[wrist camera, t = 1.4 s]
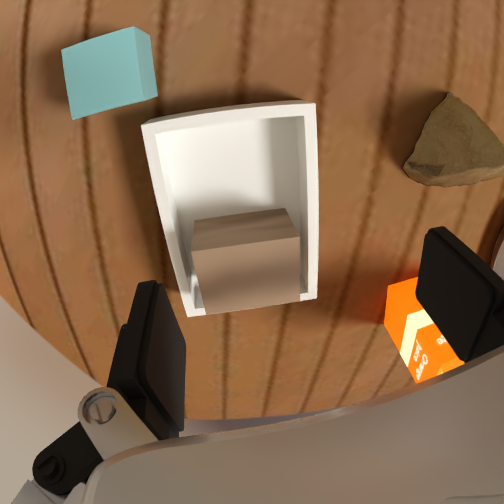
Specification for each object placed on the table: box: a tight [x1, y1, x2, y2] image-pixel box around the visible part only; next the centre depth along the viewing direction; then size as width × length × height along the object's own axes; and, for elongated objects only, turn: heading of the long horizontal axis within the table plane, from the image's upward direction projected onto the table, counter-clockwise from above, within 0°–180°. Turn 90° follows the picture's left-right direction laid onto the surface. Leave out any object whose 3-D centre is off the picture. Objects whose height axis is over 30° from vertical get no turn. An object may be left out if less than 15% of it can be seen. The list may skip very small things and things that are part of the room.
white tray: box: [141, 100, 319, 317], centre depth 30 cm, size 20×14×4 cm
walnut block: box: [191, 208, 300, 315], centre depth 30 cm, size 7×9×6 cm
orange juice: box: [384, 277, 465, 384], centre depth 33 cm, size 8×9×20 cm
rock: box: [403, 93, 504, 187], centre depth 27 cm, size 11×9×10 cm
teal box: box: [61, 26, 158, 120], centre depth 21 cm, size 6×6×6 cm
